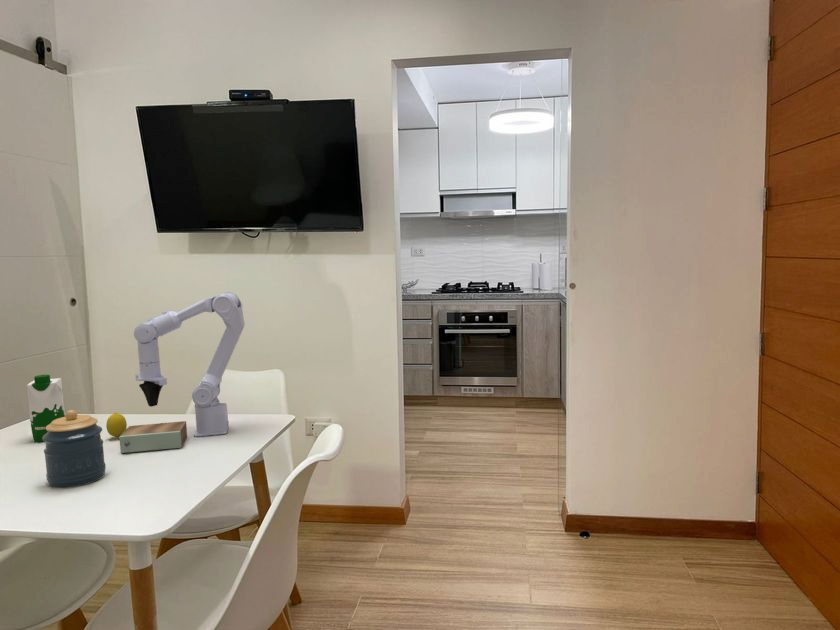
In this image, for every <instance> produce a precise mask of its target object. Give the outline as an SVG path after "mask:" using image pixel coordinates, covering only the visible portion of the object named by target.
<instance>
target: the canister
mask: <svg viewBox="0 0 840 630" xmlns="http://www.w3.org/2000/svg"><path fill="white" fill-rule="evenodd" d="M97 423H99V420H98V419H97V418H96V417H94V416H92V415H89V414H78V412H77V411H76V410H75V409H69V410H67V411H65V417H62V418H58V419H56V420H54V421H52V422H51V423H50V424H49V425H47V426H46V428H45V429H46V430H47V431H48V432H47V433H46V434H45V435H44V436H43V437H42V439H43V441H45V442H44V443H45V448H44V450H43V453H44V460H45V469H46V474H45V477H46V481H47V484H48V486H49V487H52V488H58V489H59V488H61V489H62V488H63V489H65V488H74V487H79V486H84V485H87V484H91V483H93V482H96V481H98V480H100V479H102V478H103V477H104V476H105V475H106V468H107V467H106V463H105V454H104V440H103V438H102V436H101V433H102V432H103V428H102V427H101V426H100V425H97Z"/></svg>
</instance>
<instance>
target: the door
mask: <svg viewBox="0 0 840 630" xmlns="http://www.w3.org/2000/svg"><path fill="white" fill-rule="evenodd" d="M118 440H119V451H120V453H121V454H127V453H126V452H129V453H137V451H139V452H149V451H148V450H150V451H157V450H159V449H160V450H171V449H177V448H179V449H181V448H183V446H182V444H181V431H172V432H160V433H149V434H137V435H126V436H120V437H119V438H118Z"/></svg>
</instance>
